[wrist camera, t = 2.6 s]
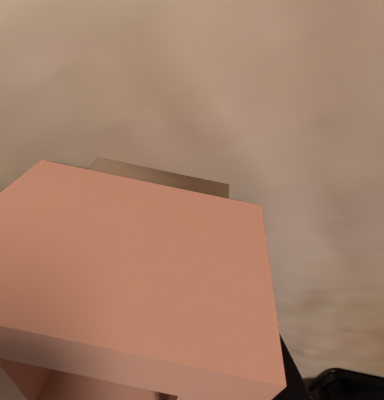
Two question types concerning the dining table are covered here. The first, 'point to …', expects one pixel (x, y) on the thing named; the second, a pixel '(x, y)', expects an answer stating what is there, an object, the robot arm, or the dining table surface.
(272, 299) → the square tube block
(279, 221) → the dining table surface
